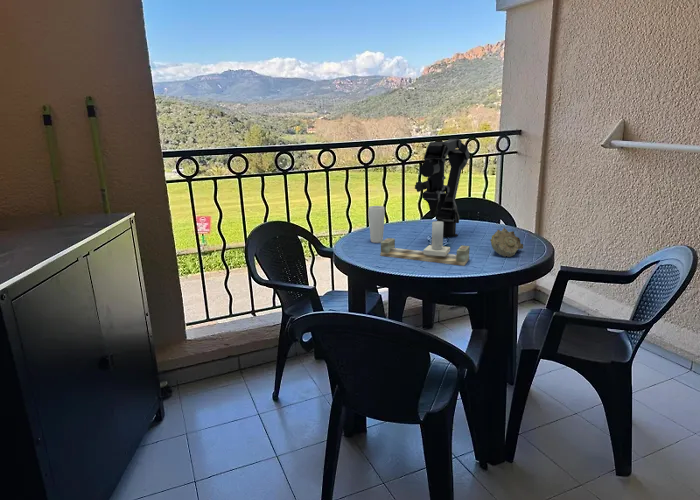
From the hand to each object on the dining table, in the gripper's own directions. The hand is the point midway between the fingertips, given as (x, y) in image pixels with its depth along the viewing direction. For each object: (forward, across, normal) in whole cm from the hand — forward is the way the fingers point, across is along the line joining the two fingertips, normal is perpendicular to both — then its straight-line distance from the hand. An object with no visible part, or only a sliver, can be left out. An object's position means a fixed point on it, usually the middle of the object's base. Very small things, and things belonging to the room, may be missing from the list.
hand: (435, 212), depth 179 cm
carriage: (+10, +20, +6) cm, 24 cm away
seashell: (+13, +3, +29) cm, 32 cm away
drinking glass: (+13, +6, -24) cm, 28 cm away
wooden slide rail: (+13, +20, +2) cm, 24 cm away
